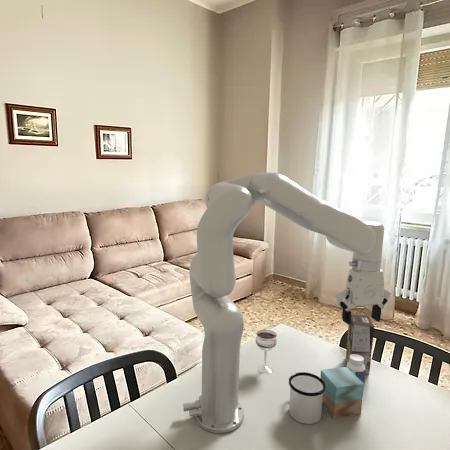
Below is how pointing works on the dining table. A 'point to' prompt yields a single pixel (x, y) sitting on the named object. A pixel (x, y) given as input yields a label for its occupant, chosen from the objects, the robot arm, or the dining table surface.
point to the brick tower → (342, 392)
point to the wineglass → (266, 346)
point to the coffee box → (360, 339)
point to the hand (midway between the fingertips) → (361, 321)
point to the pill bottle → (357, 366)
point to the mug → (306, 397)
